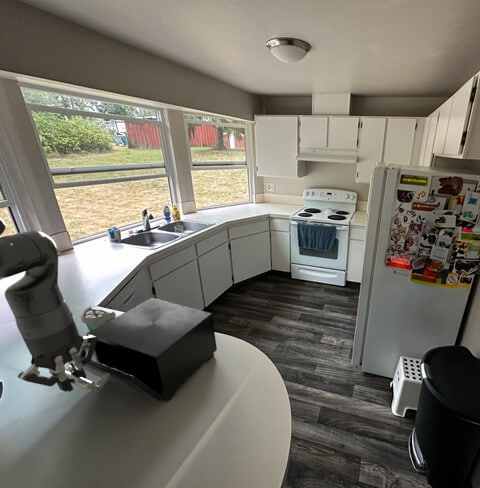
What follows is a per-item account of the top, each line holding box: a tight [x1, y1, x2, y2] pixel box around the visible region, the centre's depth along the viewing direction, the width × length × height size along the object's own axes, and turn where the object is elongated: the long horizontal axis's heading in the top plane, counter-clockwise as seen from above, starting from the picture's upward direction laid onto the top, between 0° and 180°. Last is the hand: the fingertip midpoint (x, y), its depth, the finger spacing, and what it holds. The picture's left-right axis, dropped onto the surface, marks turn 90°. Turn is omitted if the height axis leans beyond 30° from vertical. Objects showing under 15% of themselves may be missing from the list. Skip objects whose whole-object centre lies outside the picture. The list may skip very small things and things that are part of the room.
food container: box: [80, 305, 117, 332], centre depth 92 cm, size 12×6×10 cm, turn 76°
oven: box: [86, 297, 218, 402], centre depth 79 cm, size 20×26×17 cm
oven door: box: [48, 354, 163, 402], centre depth 64 cm, size 6×26×16 cm, turn 72°
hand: (74, 385), depth 59 cm, fingers closed on oven door
